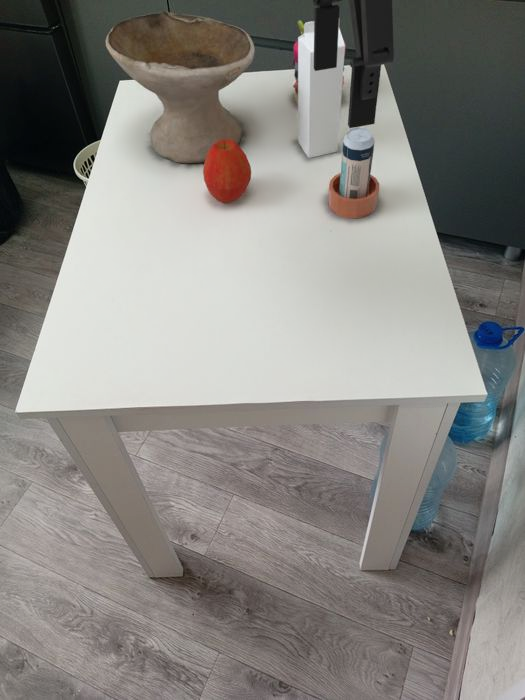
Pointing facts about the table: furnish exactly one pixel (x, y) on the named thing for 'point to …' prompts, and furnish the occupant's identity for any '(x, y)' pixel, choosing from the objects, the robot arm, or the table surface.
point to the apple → (226, 171)
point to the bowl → (184, 77)
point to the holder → (352, 200)
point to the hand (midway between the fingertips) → (341, 94)
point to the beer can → (356, 163)
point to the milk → (318, 97)
